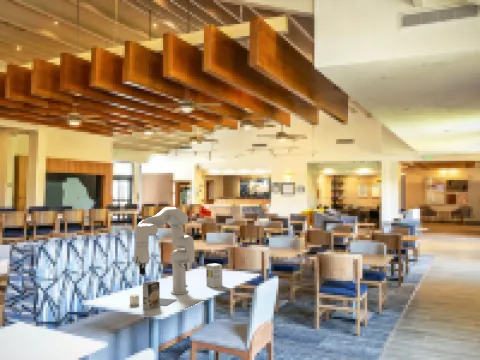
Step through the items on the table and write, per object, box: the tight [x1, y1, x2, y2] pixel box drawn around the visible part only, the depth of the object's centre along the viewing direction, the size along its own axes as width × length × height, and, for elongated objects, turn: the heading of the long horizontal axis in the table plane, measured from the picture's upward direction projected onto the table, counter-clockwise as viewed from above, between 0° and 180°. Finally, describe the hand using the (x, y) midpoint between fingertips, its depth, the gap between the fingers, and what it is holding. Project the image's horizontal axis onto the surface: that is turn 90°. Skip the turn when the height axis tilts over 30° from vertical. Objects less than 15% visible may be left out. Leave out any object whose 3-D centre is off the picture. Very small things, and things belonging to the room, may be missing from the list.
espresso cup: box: [129, 294, 140, 307], centre depth 273 cm, size 6×6×6 cm
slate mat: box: [160, 298, 178, 307], centre depth 277 cm, size 15×16×1 cm
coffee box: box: [142, 280, 161, 310], centre depth 265 cm, size 9×6×16 cm
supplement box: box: [205, 262, 223, 288], centre depth 322 cm, size 10×9×17 cm
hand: (142, 274), depth 256 cm, fingers closed
